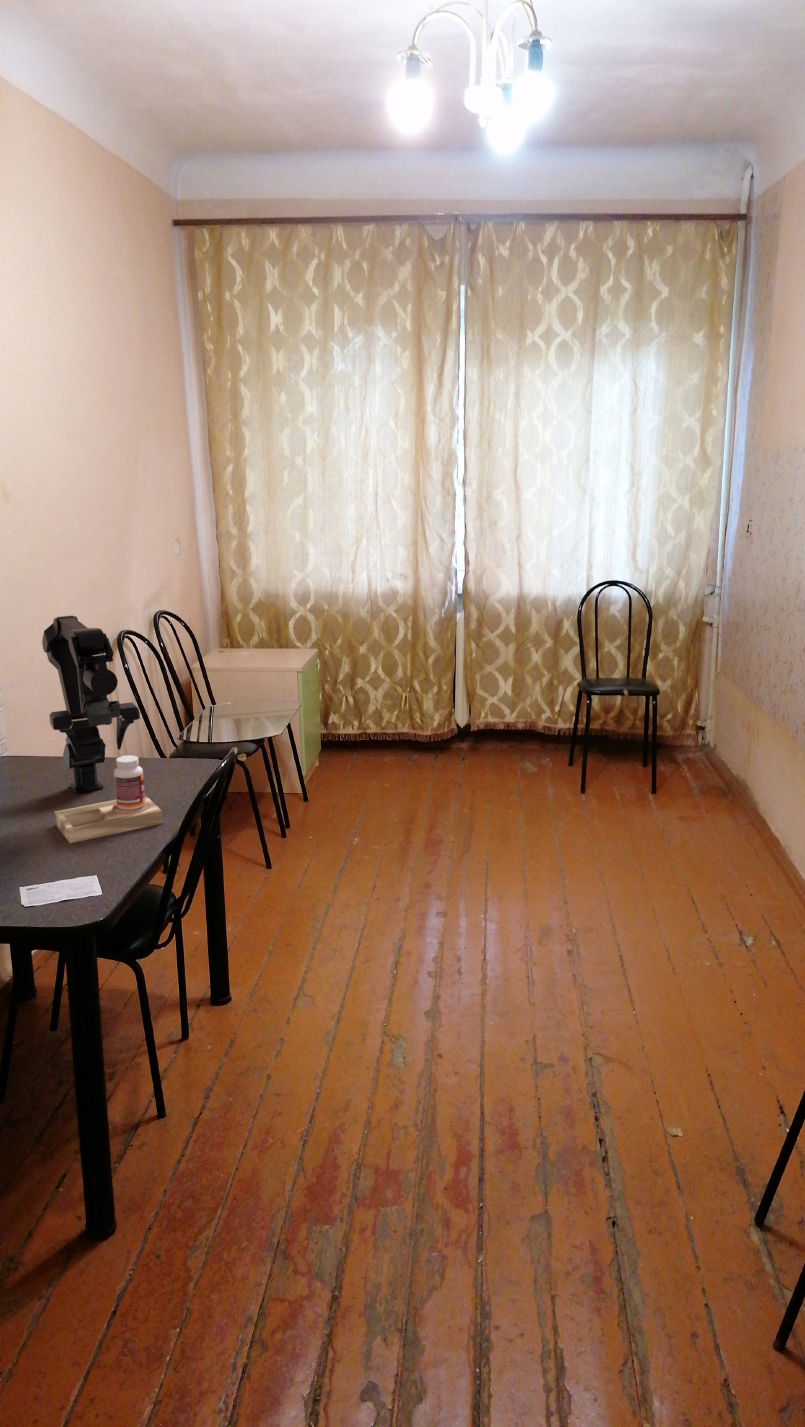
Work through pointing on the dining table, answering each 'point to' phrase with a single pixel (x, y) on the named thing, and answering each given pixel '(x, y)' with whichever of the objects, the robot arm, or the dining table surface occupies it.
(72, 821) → the board
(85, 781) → the robot arm
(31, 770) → the dining table surface
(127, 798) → the pill bottle
